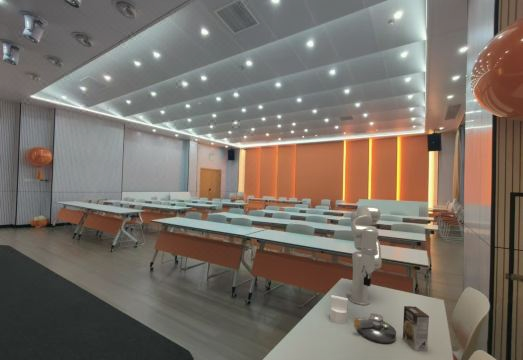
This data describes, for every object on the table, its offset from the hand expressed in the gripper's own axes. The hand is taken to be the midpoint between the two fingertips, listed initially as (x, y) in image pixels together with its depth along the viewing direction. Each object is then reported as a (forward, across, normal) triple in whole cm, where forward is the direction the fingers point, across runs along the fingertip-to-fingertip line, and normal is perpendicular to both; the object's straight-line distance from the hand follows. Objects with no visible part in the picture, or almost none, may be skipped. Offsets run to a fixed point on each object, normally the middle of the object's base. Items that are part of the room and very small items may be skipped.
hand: (366, 285), depth 137 cm
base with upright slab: (+21, +8, -12) cm, 25 cm away
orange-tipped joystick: (+17, +9, +5) cm, 20 cm away
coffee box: (+21, +2, +24) cm, 31 cm away
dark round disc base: (+20, +5, +7) cm, 22 cm away
